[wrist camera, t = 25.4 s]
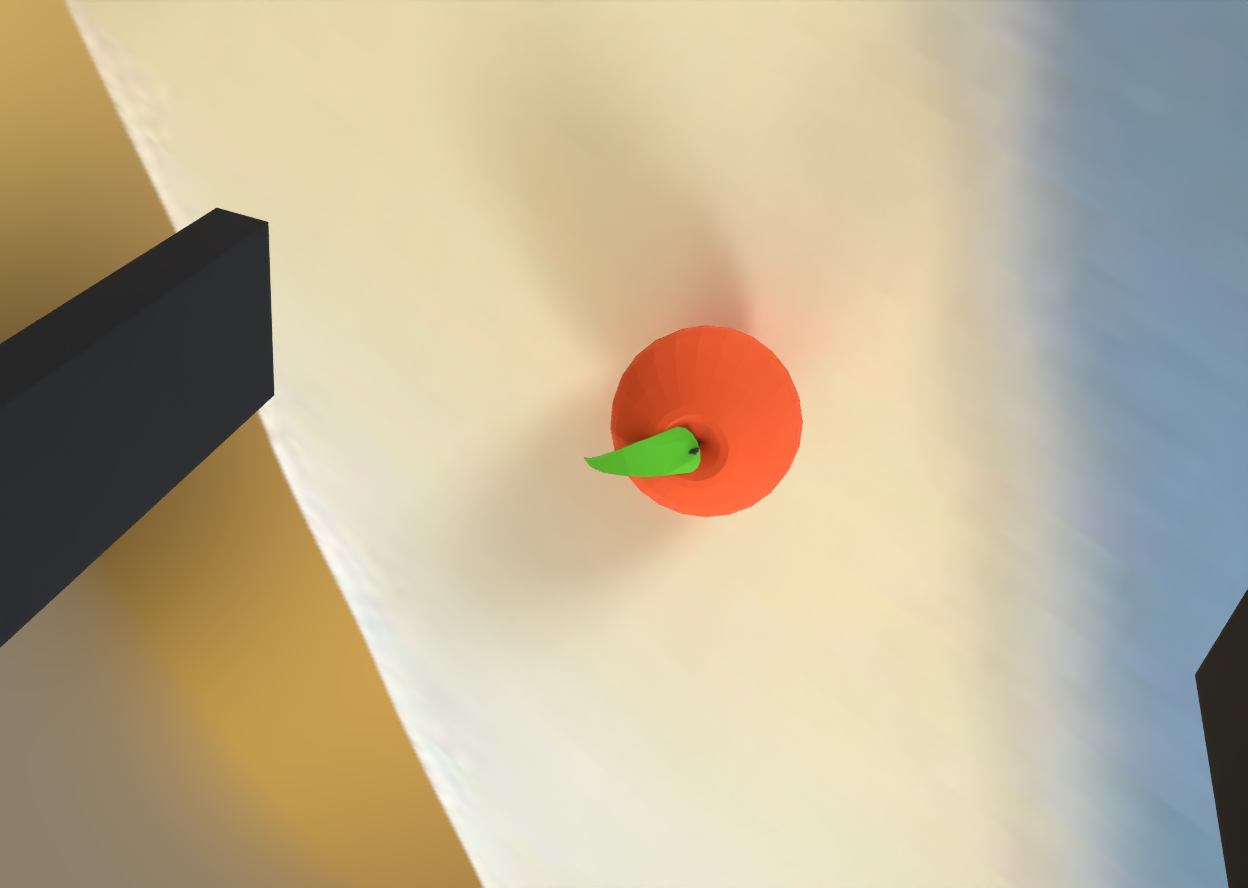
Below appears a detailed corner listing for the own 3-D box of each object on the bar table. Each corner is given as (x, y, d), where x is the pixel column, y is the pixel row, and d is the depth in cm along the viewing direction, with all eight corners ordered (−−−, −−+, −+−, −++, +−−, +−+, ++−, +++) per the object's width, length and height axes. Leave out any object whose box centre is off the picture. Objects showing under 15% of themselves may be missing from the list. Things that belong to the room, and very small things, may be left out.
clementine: (634, 504, 47) (598, 573, 41) (582, 343, 46) (535, 388, 39) (827, 458, 45) (821, 523, 39) (779, 287, 44) (765, 325, 37)
